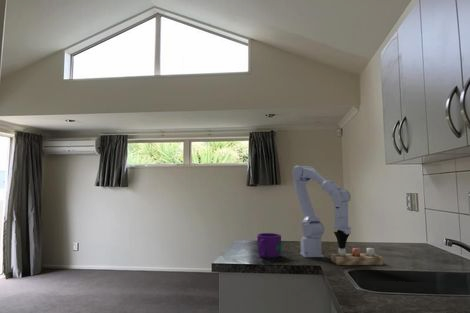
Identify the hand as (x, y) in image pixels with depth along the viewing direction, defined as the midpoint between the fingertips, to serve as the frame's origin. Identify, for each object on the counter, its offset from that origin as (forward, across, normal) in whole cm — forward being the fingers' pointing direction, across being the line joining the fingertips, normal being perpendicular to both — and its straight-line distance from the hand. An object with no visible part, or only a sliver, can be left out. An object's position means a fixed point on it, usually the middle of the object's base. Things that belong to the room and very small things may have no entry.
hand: (342, 248), depth 146 cm
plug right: (+4, 0, -13) cm, 13 cm away
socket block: (+6, 0, -6) cm, 9 cm away
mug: (+6, +12, +32) cm, 34 cm away
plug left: (+3, 0, 0) cm, 3 cm away
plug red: (+3, 0, -7) cm, 7 cm away
